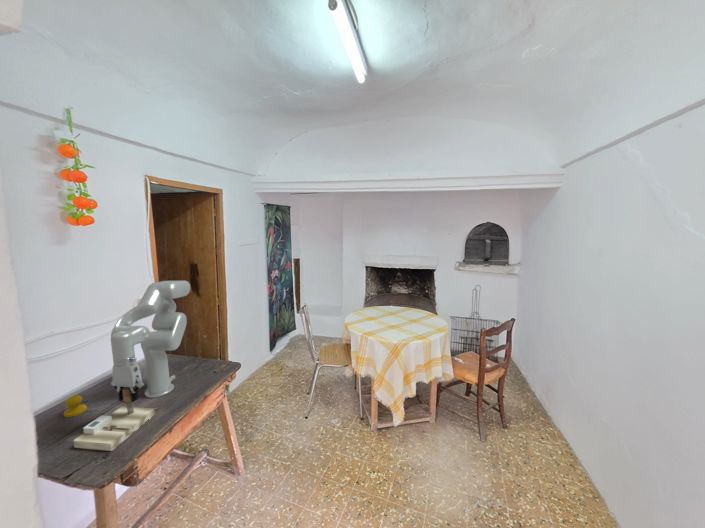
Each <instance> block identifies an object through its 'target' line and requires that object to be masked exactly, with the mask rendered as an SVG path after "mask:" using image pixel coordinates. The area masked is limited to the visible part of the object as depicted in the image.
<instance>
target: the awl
mask: <svg viewBox="0 0 705 528" xmlns="http://www.w3.org/2000/svg"><path fill="white" fill-rule="evenodd" d="M122 393H123V400H122V401H123V403H124V404H125V405H126V407H127V412H128V414H132V413H134V409H133V407H134V402H132V401H131V393H132V392H131V389H130V387H123V388H122Z"/></svg>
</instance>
